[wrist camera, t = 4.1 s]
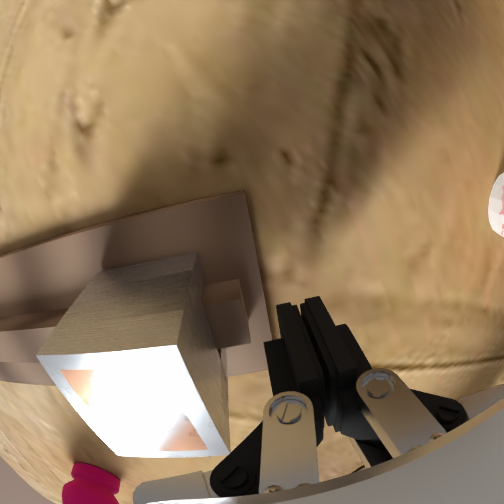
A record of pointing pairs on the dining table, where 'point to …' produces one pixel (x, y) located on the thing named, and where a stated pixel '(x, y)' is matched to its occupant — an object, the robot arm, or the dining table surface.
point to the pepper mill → (90, 486)
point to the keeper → (144, 361)
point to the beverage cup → (497, 206)
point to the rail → (129, 253)
